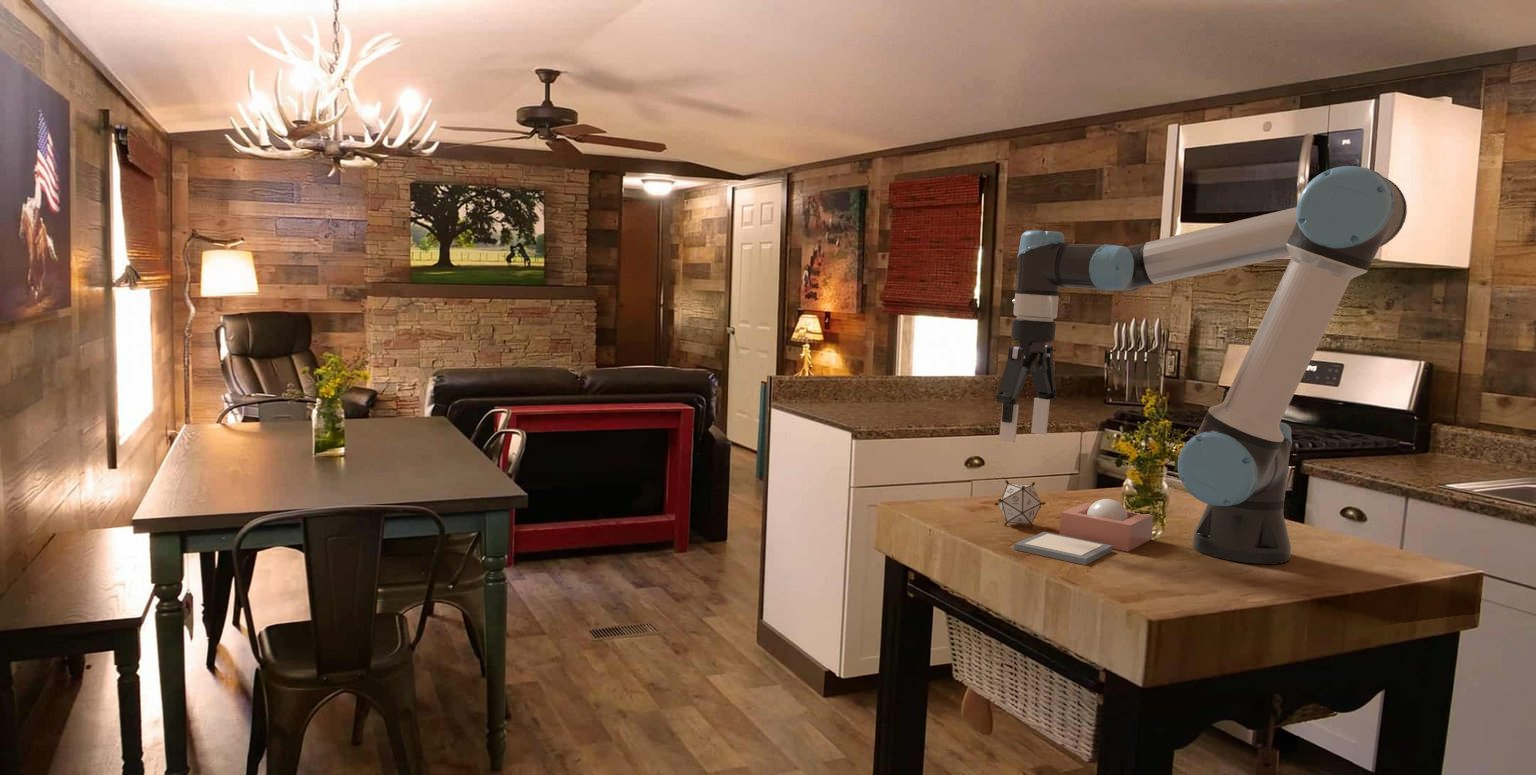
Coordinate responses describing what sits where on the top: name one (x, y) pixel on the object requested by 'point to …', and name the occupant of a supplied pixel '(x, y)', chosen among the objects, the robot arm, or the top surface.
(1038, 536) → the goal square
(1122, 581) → the top surface
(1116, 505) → the white ball
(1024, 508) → the game die
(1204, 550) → the robot arm
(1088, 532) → the pink open box
